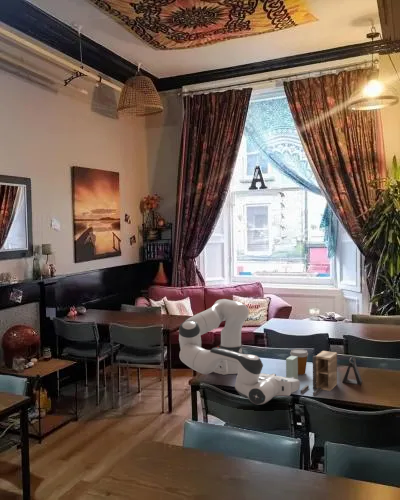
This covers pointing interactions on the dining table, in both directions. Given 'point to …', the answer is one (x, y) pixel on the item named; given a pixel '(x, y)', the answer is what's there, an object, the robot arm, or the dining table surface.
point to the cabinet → (324, 372)
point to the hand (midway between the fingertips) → (283, 376)
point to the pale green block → (292, 367)
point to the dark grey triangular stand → (357, 375)
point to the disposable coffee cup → (300, 359)
